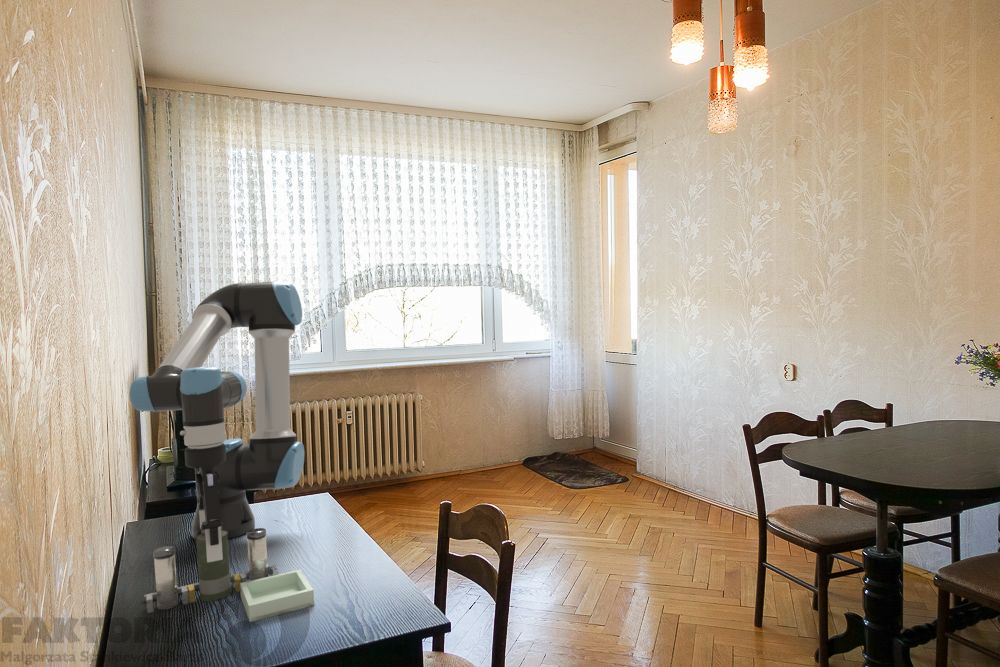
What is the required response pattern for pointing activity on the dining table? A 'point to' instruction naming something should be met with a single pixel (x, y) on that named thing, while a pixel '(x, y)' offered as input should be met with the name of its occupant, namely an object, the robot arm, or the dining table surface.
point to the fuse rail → (170, 591)
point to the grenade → (213, 569)
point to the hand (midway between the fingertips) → (211, 550)
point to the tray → (276, 595)
